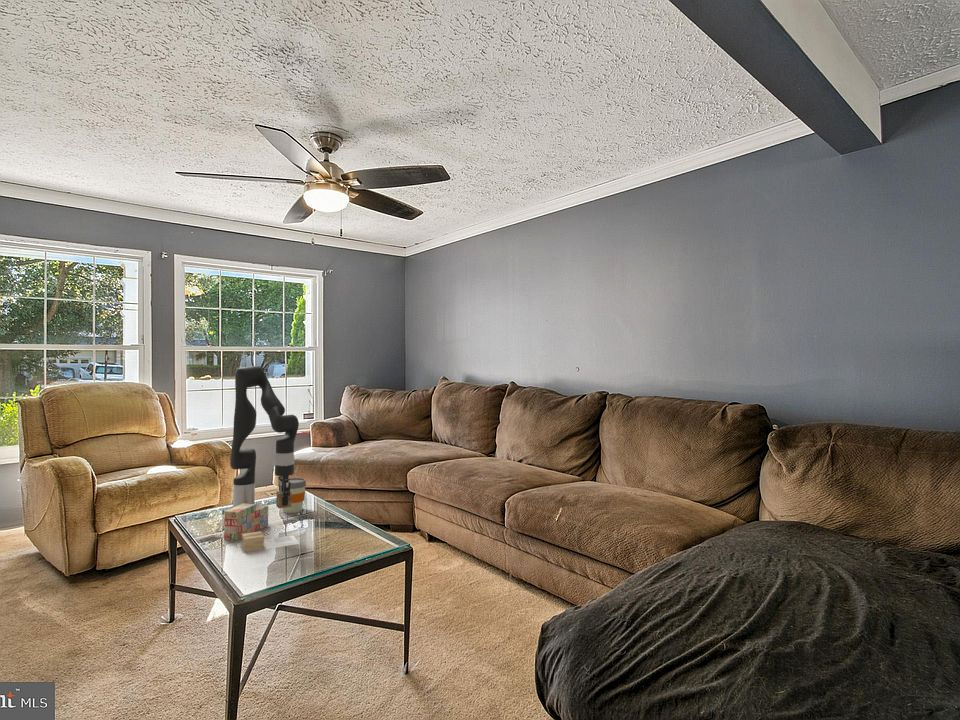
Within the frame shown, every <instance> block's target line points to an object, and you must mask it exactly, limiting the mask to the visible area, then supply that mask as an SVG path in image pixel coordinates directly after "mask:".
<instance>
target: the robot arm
mask: <svg viewBox="0 0 960 720" xmlns="http://www.w3.org/2000/svg"><path fill="white" fill-rule="evenodd" d="M234 376H235V377H234V380H235V381H234V384H235V387H234V388H235V389H234V390H235V400H234V401H235V402H234V403H235V405H234V415H233V430H232V431H233V432H232V433H233V435H232V444H231V451H230V459H229V463H230V464H229V465H230V468H231V469H233V470H246V471H244V472H243V473H241V474H239V475H237V476H235V477H233V481H232V482H233V483H232V484H233V485H232V493H233V494H232V508H234V507H236V506H238V505H241V504H243V503H245V504H255V496H256V488H255V487H256V464H257V453H256V450H255V448H242V445H243V443H244V441H245V440H246V439H247V438H248V437H249V436H250V435H251V433H252V432H253V431H254V430H255V428H256V424H257V411H256V408H255V407H254V406H253V403H252V402H250V400H249V398H248V392H247V391H248V389H249V388H255V387H259V388H260V389H261V397H260V404H261V407H262V408H263V410H264V411H265V413H266V414H267V416H268V419H269V422H270V425H271V428H272V430H273V431H274V432H276V433H278V434H279V433H280V434H282V433H284V435H283V436H282V437H279V438H277V439H276V441H275V457H274V475H275V476H277V479H278V490H277V491H282V505H283V506H287V505H288V496H290V484H291V483H290V479H289V478H290V477H289V476H292V475H294V474H295V451H294V450H295V440H296V436H297V433H298V430H299V425H300V423H299V419H298V417H297V416H296V415H294V414H287V415H285V412H286V408H285V406H284V405H283V403H282V402H281V400H280V399H279V398H278V397H277V395H276V394H275V391H274V389H273V387H272V385H271V383H270V381H269V379H268V377H267V375H266V373H265V371H264V369H263V368H262V367H261V366H259V365H249V366H243V367H238V368H237V369H236V371H235V375H234ZM285 491H287V493H285Z"/></svg>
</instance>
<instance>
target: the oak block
mask: <svg viewBox="0 0 960 720" xmlns="http://www.w3.org/2000/svg"><path fill="white" fill-rule="evenodd" d="M241 539H242V540H241V543H242V548H243V551H244V552H247V553H249V552H248V551H253V552H256V551H255V550H259V551H262V550H261V549H264V540H265V535H264V533H263V532H262V530H261V531H260V530H259V531H254V532H252V533H246V534H242V538H241Z"/></svg>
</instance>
